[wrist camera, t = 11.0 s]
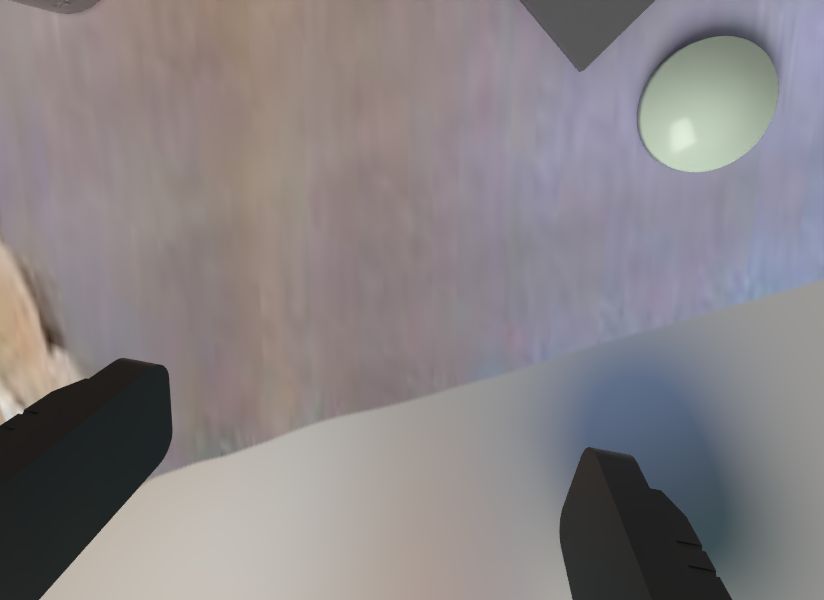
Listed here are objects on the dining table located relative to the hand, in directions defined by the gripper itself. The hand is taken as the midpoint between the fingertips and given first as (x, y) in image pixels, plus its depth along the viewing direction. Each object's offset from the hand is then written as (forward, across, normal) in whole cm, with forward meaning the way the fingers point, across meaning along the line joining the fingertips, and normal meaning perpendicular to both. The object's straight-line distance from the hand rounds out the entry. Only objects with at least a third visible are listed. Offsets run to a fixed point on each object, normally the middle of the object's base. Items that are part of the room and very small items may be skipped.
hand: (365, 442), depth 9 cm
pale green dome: (+28, -16, -9) cm, 33 cm away
